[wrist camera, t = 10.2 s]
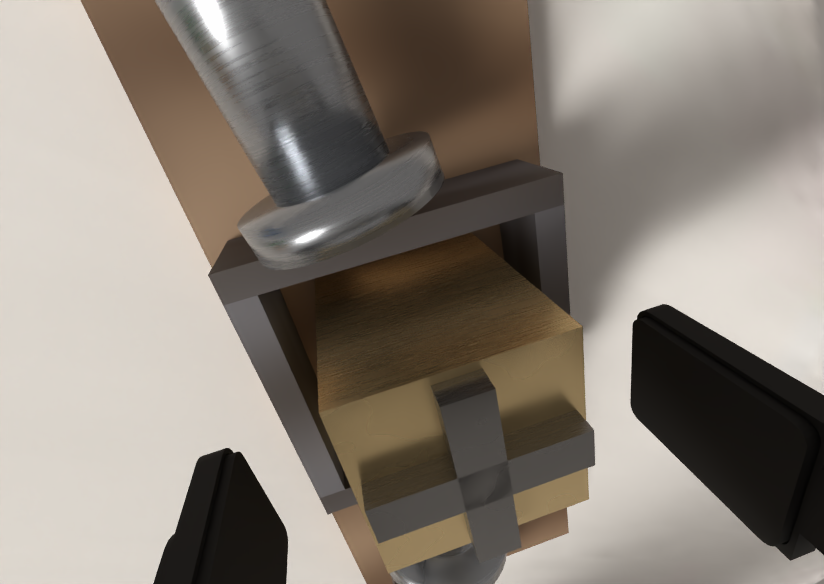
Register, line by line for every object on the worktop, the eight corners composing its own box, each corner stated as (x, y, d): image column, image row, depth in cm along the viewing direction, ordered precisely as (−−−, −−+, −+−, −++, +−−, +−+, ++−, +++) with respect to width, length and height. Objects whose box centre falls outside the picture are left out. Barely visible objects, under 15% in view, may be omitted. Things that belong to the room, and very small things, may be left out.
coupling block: (471, 232, 13) (602, 343, 7) (491, 359, 15) (604, 521, 10) (314, 278, 13) (319, 437, 7) (359, 402, 15) (393, 601, 9)
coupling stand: (553, 506, 22) (598, 583, 19) (373, 573, 21) (385, 668, 18) (468, -333, 9) (569, -604, 6) (-16, -256, 8) (-265, -525, 5)
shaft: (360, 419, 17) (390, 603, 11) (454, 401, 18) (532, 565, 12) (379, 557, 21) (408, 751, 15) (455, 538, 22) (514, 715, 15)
